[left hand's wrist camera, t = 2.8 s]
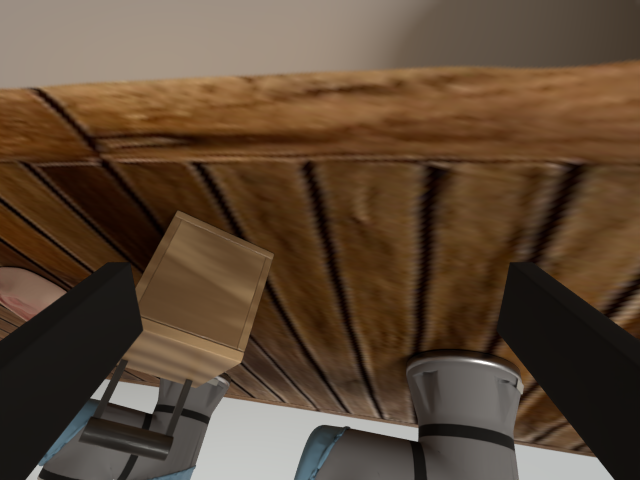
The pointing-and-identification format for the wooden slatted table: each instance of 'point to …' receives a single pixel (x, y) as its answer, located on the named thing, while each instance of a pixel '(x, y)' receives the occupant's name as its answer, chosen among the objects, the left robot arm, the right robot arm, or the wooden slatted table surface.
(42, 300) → the anatomical model
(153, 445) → the lid
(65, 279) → the wooden slatted table surface
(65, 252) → the wooden slatted table surface
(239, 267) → the chest
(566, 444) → the wooden slatted table surface
